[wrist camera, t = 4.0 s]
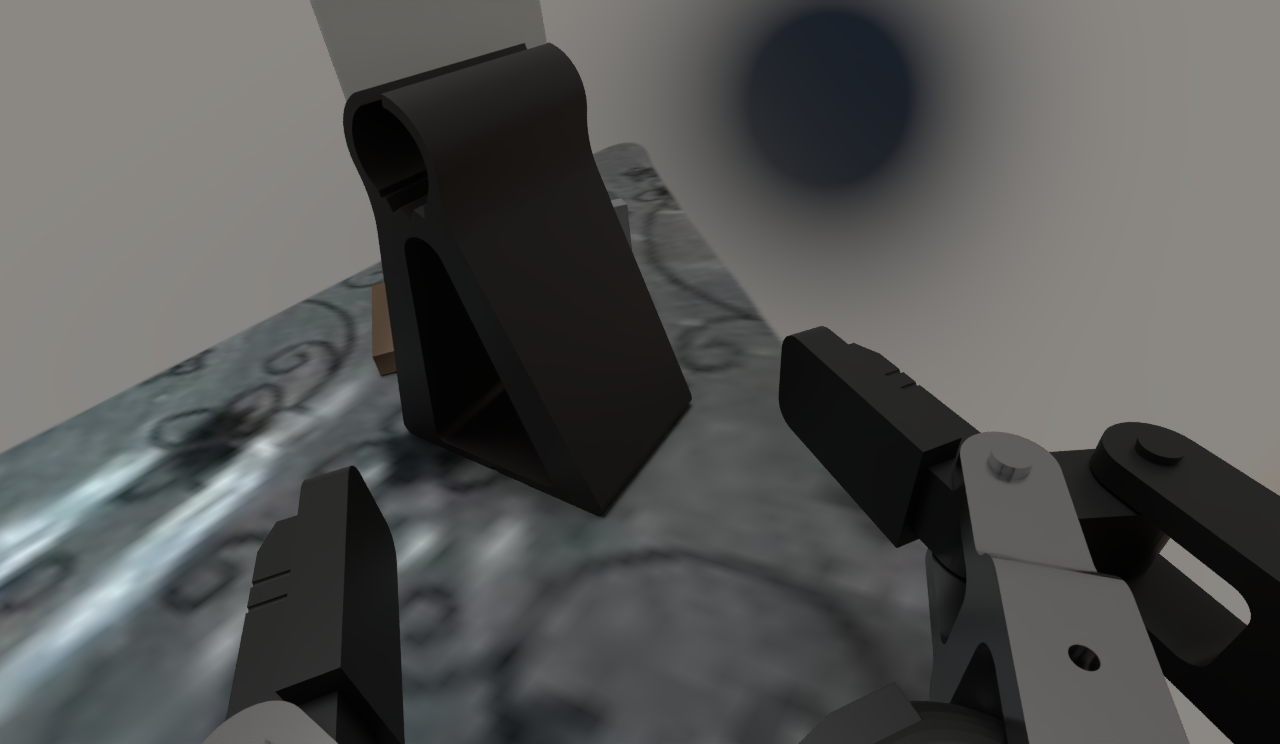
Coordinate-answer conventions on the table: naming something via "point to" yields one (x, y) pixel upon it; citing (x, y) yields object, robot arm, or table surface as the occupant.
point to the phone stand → (512, 276)
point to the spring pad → (424, 40)
